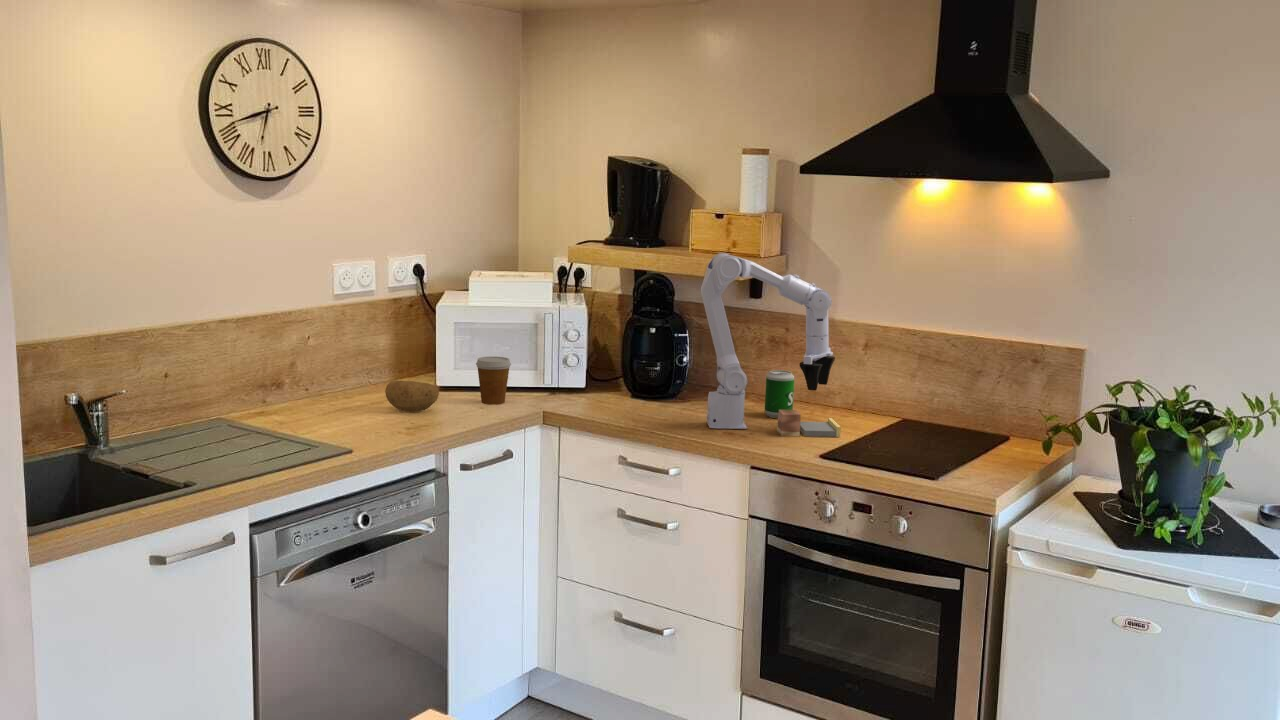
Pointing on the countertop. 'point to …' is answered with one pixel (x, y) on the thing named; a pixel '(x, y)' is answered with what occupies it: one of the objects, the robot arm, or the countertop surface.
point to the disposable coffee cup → (493, 378)
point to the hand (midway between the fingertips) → (817, 387)
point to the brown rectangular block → (789, 423)
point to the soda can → (778, 392)
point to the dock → (820, 429)
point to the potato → (411, 395)
